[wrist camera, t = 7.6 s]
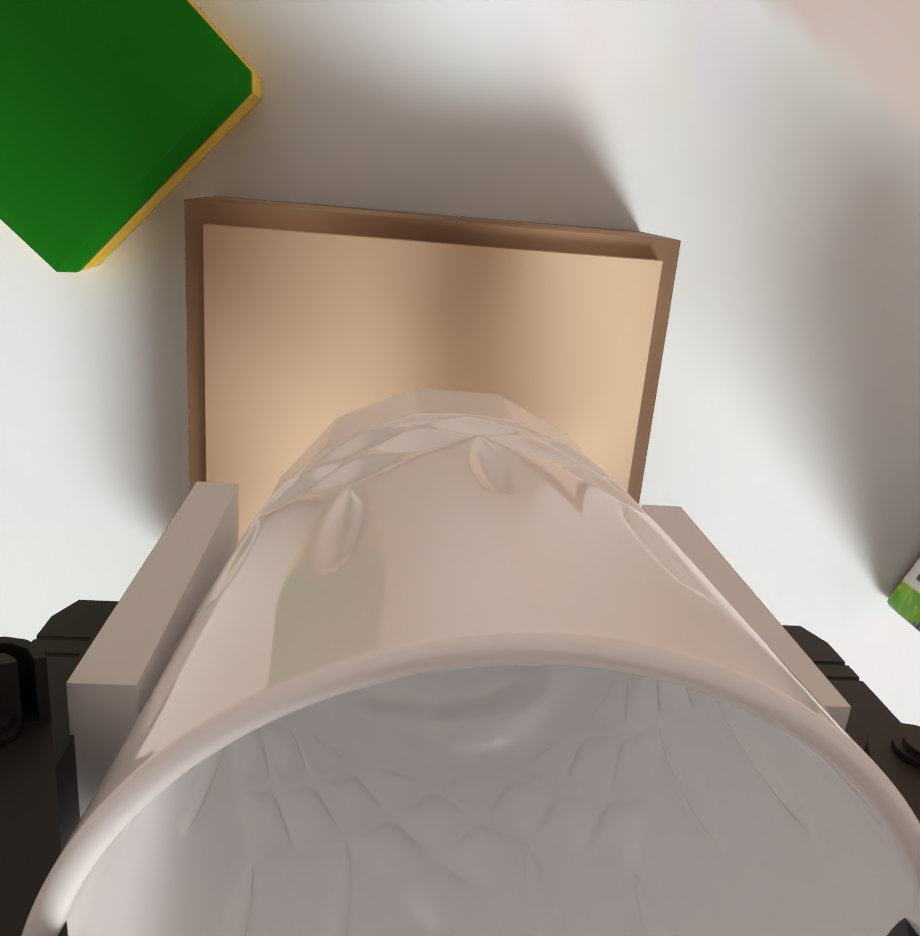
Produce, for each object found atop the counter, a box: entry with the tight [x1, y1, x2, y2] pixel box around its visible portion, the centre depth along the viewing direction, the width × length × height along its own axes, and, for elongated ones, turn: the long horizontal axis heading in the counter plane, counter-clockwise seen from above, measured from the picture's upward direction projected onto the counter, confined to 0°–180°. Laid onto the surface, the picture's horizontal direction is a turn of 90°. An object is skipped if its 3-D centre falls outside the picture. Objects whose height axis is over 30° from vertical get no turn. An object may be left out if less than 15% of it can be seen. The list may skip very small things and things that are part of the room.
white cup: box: [21, 388, 920, 936], centre depth 12 cm, size 8×8×10 cm
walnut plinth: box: [185, 196, 681, 541], centre depth 24 cm, size 12×12×4 cm
